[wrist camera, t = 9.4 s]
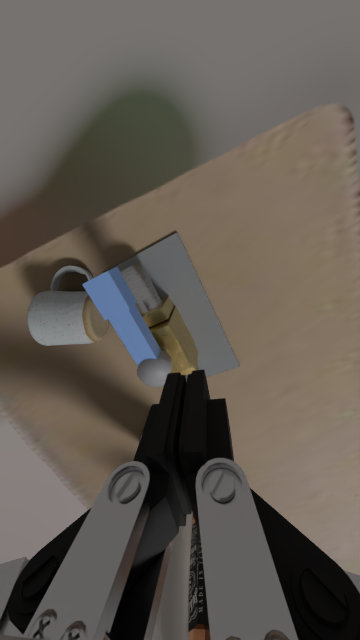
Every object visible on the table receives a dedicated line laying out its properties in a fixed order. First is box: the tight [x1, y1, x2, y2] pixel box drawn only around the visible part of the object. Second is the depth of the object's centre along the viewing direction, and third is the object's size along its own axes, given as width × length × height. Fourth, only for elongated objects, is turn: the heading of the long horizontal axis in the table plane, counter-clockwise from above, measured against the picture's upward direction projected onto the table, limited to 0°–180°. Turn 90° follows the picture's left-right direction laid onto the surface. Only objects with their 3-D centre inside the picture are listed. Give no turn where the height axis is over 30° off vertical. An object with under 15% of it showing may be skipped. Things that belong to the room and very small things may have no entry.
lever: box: [82, 267, 173, 387], centre depth 23 cm, size 4×13×2 cm, turn 26°
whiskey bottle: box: [188, 516, 211, 640], centre depth 36 cm, size 10×10×32 cm
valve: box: [121, 262, 199, 381], centre depth 29 cm, size 20×6×8 cm, turn 27°
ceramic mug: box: [27, 265, 109, 346], centre depth 30 cm, size 11×8×8 cm
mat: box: [104, 233, 240, 377], centre depth 33 cm, size 22×12×1 cm, turn 27°
